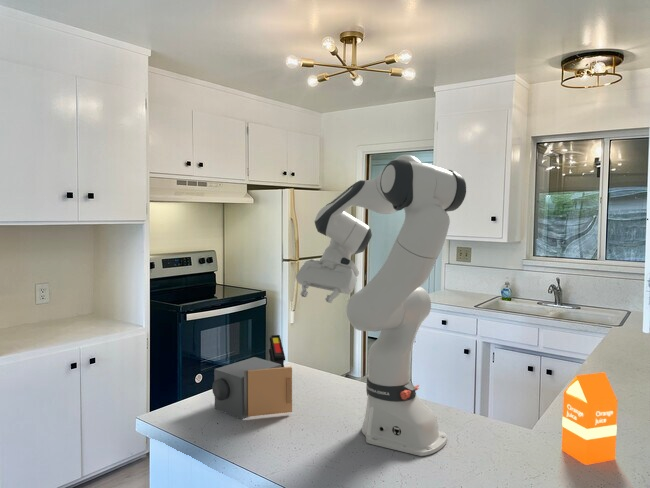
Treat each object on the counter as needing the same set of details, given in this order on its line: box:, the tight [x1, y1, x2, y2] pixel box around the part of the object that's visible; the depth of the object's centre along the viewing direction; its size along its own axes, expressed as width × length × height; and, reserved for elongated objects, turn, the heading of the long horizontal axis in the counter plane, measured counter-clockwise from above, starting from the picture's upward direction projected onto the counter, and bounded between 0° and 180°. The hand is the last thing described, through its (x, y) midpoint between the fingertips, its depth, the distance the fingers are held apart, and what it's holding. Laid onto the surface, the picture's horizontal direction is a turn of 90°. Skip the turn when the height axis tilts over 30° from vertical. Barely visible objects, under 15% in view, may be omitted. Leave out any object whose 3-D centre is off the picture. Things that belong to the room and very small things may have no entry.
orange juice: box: [561, 371, 618, 466], centre depth 120 cm, size 8×9×20 cm
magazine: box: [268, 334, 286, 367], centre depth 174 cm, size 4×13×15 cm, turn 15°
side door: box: [244, 366, 293, 418], centre depth 141 cm, size 2×14×13 cm, turn 105°
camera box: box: [211, 356, 281, 420], centre depth 149 cm, size 12×18×12 cm
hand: (315, 298), depth 155 cm, fingers open, 8 cm apart
